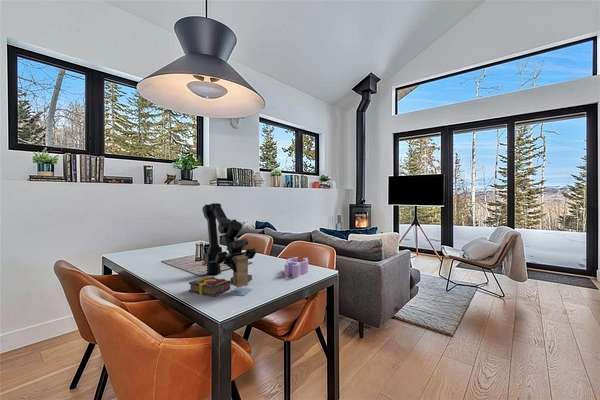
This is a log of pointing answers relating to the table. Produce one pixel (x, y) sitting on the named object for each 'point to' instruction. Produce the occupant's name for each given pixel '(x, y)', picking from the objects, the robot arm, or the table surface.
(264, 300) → the table surface
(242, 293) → the pad
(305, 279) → the table surface
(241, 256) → the tan wooden block
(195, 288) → the decorative book
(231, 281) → the trap pit
